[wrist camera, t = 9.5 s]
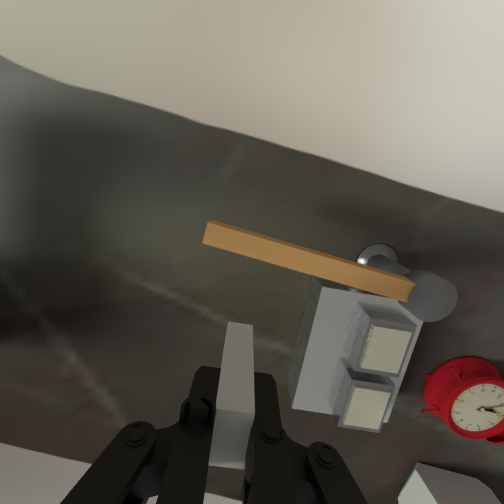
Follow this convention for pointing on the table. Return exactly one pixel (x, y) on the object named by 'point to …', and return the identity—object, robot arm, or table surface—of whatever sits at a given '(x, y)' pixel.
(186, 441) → the robot arm
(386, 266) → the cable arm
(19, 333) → the table surface
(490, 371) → the alarm clock
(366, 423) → the grey boxy piece
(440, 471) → the electronic device
